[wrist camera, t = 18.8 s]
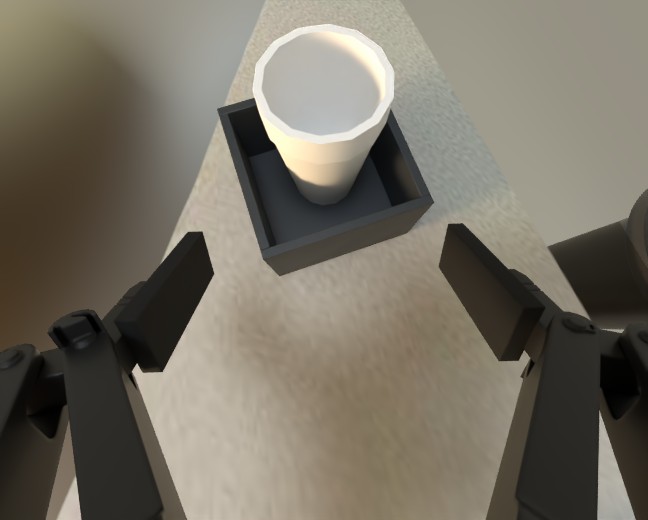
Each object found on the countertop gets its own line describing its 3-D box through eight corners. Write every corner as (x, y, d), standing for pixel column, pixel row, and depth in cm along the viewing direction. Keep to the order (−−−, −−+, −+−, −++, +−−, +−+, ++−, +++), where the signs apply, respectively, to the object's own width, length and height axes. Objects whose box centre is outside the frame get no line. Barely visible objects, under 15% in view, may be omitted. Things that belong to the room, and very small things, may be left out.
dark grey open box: (407, 232, 31) (434, 202, 24) (279, 276, 30) (263, 259, 23) (359, 122, 34) (370, 63, 27) (242, 158, 33) (216, 108, 26)
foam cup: (380, 200, 31) (418, 115, 18) (300, 231, 30) (282, 164, 18) (346, 129, 33) (359, 7, 20) (270, 156, 32) (234, 48, 20)
